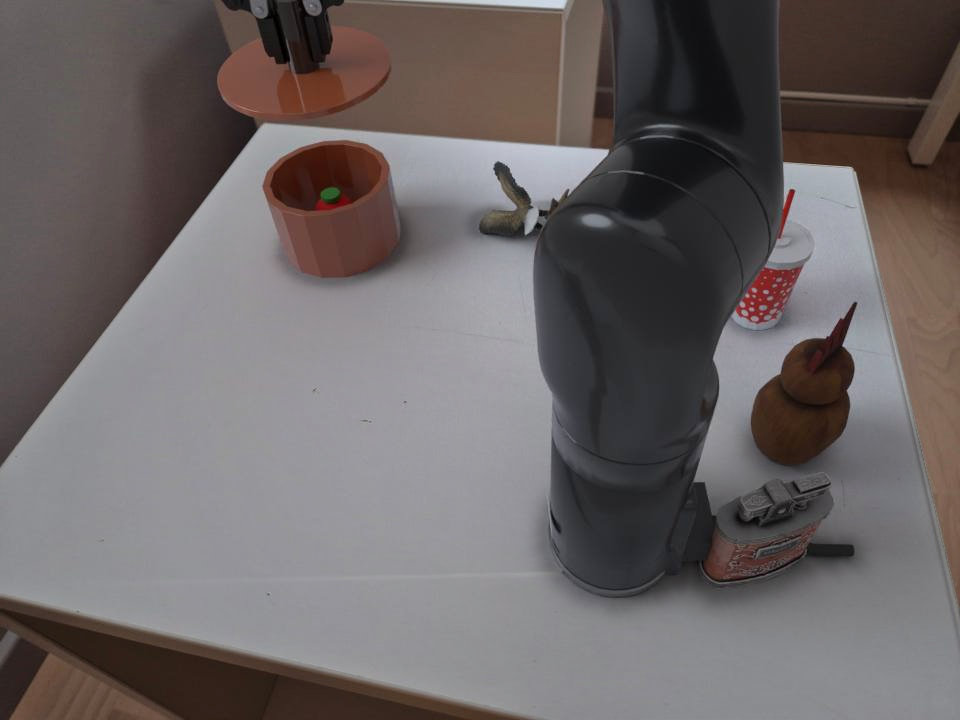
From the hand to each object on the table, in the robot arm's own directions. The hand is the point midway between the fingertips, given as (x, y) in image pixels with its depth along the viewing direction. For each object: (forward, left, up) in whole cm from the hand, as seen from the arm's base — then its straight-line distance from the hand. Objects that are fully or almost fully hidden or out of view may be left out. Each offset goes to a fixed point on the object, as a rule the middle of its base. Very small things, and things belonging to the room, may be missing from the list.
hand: (302, 57), depth 58 cm
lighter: (-32, +31, -24) cm, 51 cm away
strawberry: (+3, -7, -24) cm, 25 cm away
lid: (0, 0, -1) cm, 1 cm away
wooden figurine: (-37, +21, -24) cm, 49 cm away
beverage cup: (-38, +6, -24) cm, 46 cm away
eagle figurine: (-16, -8, -24) cm, 31 cm away
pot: (+3, -7, -24) cm, 25 cm away
